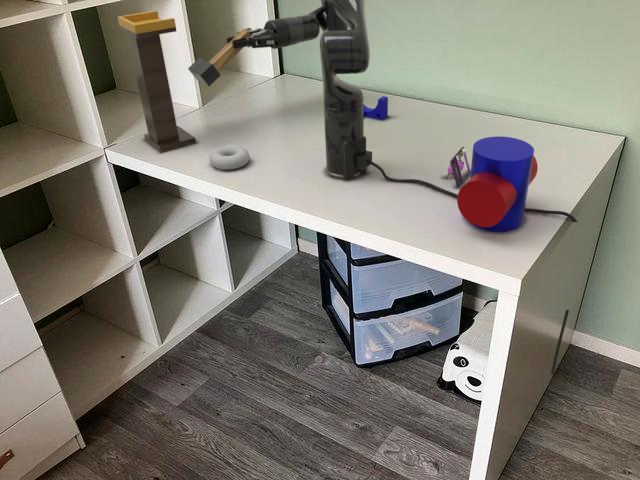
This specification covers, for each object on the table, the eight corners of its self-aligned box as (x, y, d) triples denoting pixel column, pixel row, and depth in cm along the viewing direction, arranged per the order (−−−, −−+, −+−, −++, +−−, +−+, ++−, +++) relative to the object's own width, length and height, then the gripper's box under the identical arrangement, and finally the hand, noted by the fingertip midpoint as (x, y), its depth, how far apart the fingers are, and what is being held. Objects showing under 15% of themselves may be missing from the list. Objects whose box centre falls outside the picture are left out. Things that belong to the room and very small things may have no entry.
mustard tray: (176, 27, 151) (174, 18, 150) (136, 34, 146) (134, 25, 145) (157, 18, 158) (156, 10, 157) (119, 25, 153) (117, 16, 152)
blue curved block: (345, 114, 185) (344, 94, 182) (353, 109, 188) (353, 89, 185) (379, 121, 180) (379, 101, 176) (387, 117, 183) (387, 97, 179)
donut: (204, 170, 154) (242, 173, 153) (201, 157, 153) (240, 160, 151) (219, 154, 163) (255, 156, 161) (217, 141, 161) (254, 143, 159)
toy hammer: (257, 40, 168) (249, 28, 165) (209, 86, 165) (200, 75, 162) (244, 34, 173) (236, 22, 170) (196, 79, 170) (187, 68, 167)
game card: (454, 160, 142) (466, 145, 149) (433, 163, 145) (446, 149, 151) (461, 187, 145) (473, 171, 151) (441, 189, 148) (453, 174, 154)
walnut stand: (196, 142, 168) (176, 27, 151) (161, 152, 163) (136, 34, 146) (178, 130, 176) (157, 18, 158) (144, 139, 171) (119, 25, 153)
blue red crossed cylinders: (485, 192, 143) (493, 126, 134) (536, 204, 138) (547, 136, 129) (449, 231, 129) (455, 160, 120) (504, 246, 124) (515, 174, 115)
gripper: (270, 13, 179) (216, 23, 170) (297, 23, 169) (241, 34, 161) (273, 40, 183) (220, 51, 174) (299, 51, 174) (244, 63, 165)
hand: (230, 43), depth 168 cm, fingers closed on toy hammer, 2 cm apart
